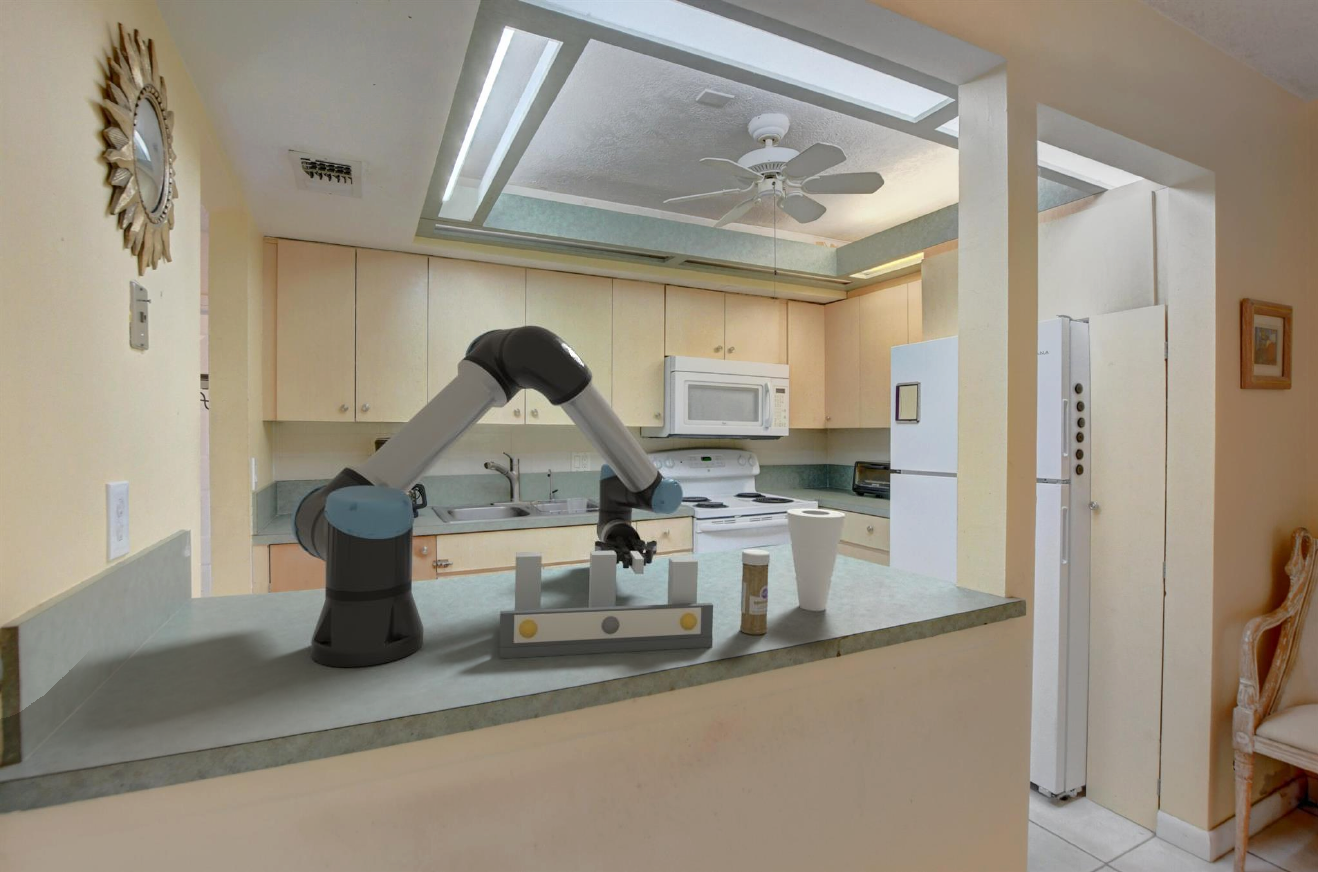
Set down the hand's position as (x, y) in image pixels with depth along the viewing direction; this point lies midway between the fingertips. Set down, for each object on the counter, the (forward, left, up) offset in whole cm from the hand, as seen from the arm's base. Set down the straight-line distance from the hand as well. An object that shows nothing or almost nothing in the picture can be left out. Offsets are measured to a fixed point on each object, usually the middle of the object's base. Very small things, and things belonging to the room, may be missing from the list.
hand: (639, 566), depth 112 cm
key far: (+5, -13, -7) cm, 15 cm away
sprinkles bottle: (+18, -11, -9) cm, 22 cm away
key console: (-7, -10, -9) cm, 15 cm away
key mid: (-7, -7, -7) cm, 12 cm away
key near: (-19, -7, -7) cm, 22 cm away
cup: (+34, 0, -9) cm, 35 cm away
